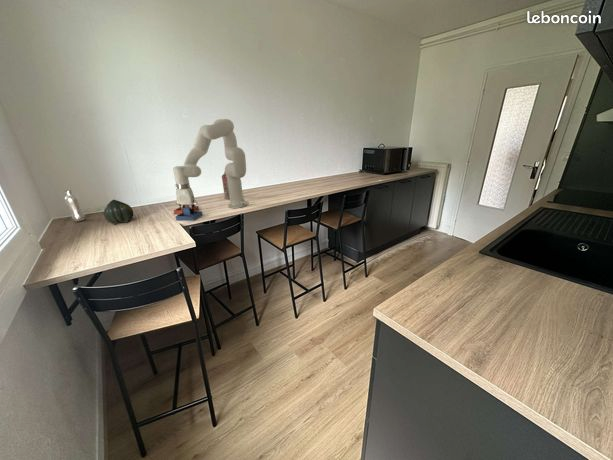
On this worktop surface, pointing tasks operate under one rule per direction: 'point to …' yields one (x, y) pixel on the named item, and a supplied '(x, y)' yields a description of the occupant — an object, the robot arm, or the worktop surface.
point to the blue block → (186, 210)
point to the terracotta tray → (179, 211)
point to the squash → (118, 212)
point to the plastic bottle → (74, 206)
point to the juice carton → (225, 186)
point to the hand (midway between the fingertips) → (188, 213)
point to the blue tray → (189, 216)
